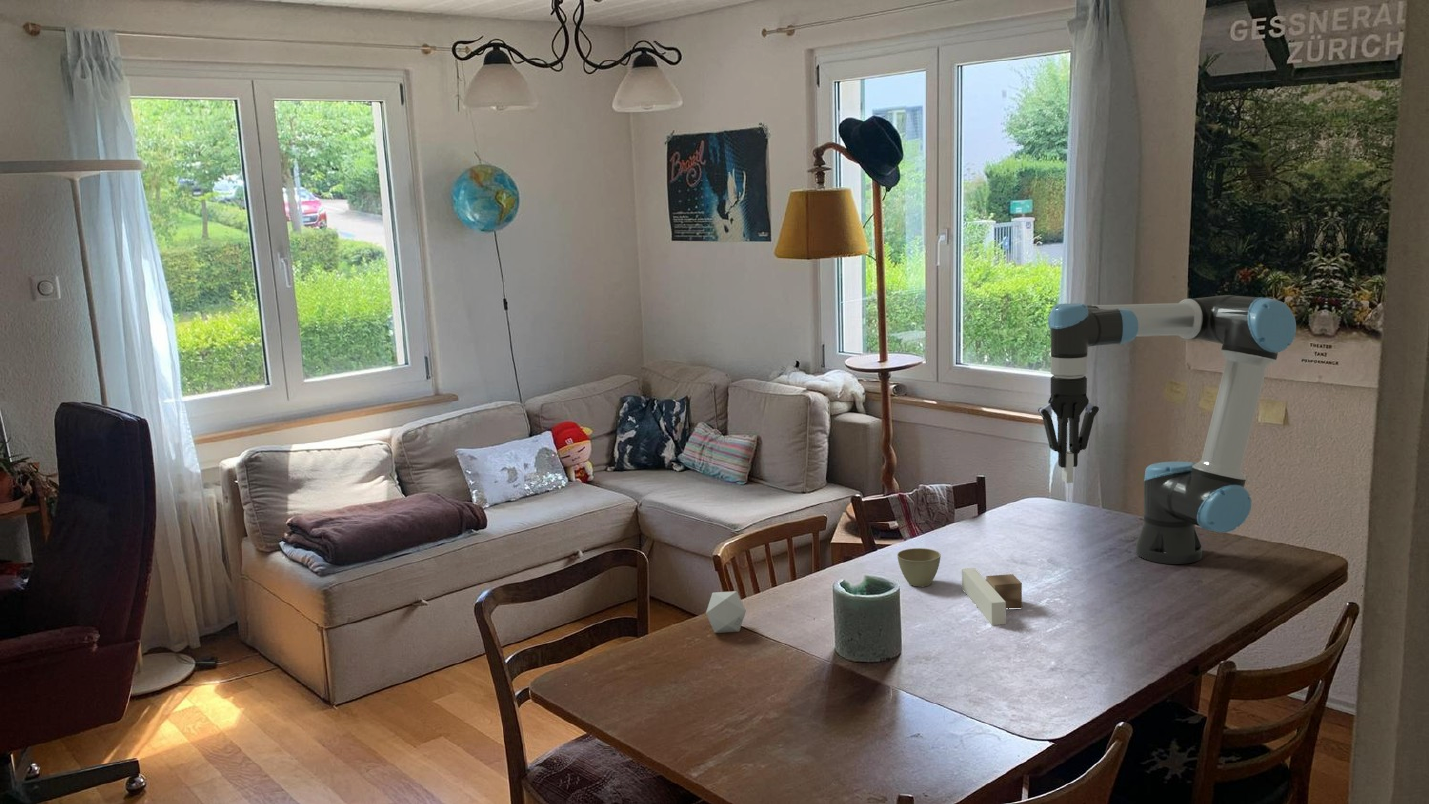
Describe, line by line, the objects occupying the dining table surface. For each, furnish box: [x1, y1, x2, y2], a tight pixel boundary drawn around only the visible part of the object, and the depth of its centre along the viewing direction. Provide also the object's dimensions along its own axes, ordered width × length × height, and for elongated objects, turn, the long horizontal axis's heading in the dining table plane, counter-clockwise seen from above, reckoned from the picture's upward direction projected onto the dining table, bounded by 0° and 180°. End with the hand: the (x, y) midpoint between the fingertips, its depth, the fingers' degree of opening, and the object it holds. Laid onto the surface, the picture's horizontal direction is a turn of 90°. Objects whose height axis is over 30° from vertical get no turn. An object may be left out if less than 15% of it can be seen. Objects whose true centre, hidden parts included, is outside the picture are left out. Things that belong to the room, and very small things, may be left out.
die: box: [705, 590, 747, 634], centre depth 236 cm, size 8×9×10 cm
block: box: [985, 573, 1023, 609], centre depth 243 cm, size 6×6×6 cm
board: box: [961, 567, 1007, 626], centre depth 243 cm, size 3×22×5 cm, turn 4°
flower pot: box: [896, 547, 942, 588], centre depth 259 cm, size 10×10×7 cm
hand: (1067, 481), depth 242 cm, fingers closed
